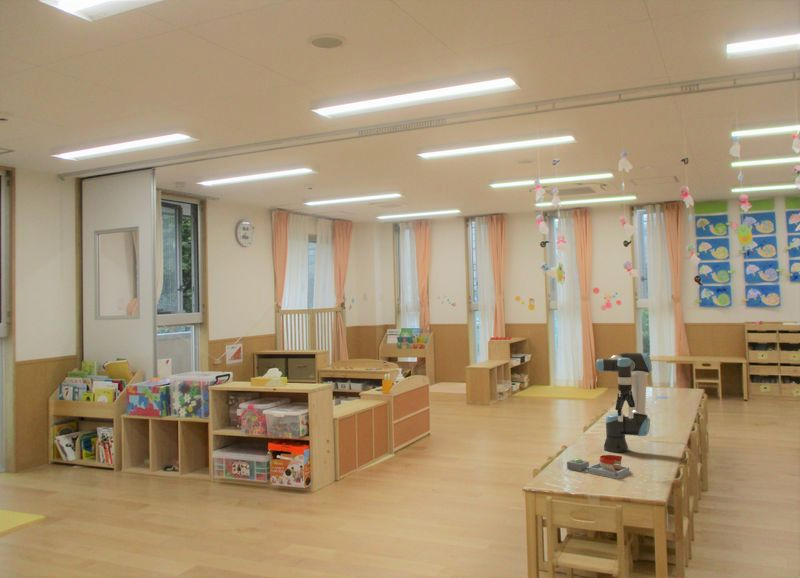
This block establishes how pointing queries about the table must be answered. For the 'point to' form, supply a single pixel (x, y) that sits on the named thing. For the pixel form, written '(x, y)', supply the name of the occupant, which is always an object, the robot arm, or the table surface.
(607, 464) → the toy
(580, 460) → the button
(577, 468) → the grey square holder
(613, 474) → the grey tray
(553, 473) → the table surface
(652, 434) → the table surface
